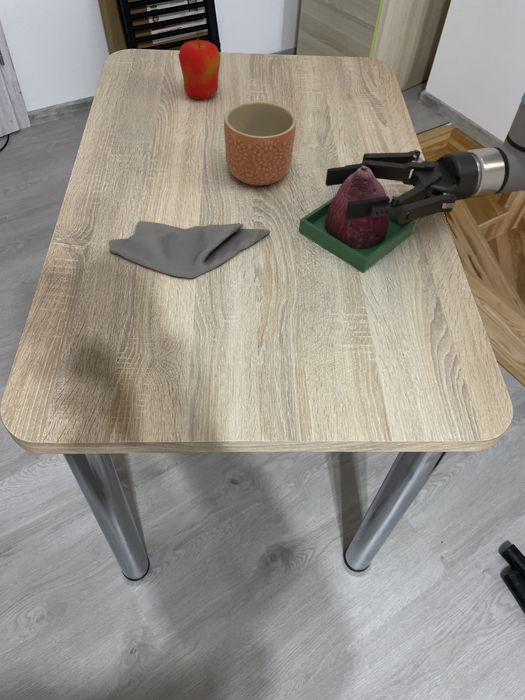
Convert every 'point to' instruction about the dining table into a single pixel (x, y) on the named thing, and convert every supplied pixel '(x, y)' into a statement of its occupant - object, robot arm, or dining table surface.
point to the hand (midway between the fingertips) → (337, 193)
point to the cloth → (184, 246)
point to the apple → (200, 68)
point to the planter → (259, 141)
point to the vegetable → (359, 229)
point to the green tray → (356, 257)
